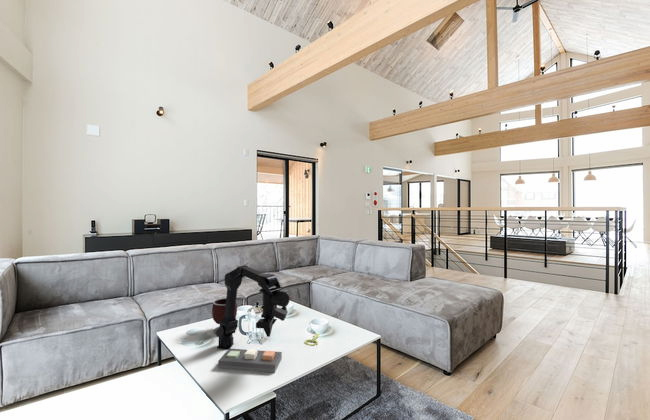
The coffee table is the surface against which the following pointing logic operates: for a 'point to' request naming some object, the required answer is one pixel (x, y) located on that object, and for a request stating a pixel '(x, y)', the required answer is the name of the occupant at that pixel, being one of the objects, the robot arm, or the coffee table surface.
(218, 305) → the mate gourd
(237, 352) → the sage keycap
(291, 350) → the coffee table surface
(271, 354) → the terracotta keycap
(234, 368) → the grey flat rectangular block
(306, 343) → the key
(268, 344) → the coffee table surface
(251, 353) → the ivory keycap
